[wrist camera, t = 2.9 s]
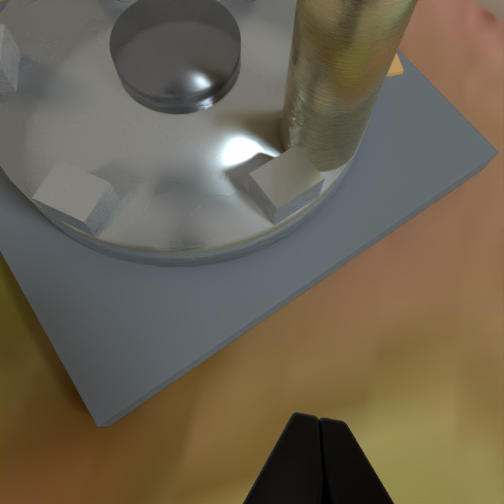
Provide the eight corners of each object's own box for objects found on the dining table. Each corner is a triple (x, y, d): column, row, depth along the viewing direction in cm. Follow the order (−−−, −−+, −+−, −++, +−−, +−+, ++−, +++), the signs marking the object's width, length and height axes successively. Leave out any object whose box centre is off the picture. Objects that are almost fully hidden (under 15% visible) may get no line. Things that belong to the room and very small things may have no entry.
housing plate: (482, 169, 23) (501, 149, 21) (108, 426, 18) (96, 426, 17) (243, -82, 28) (243, -113, 26) (-89, 74, 24) (-113, 49, 22)
